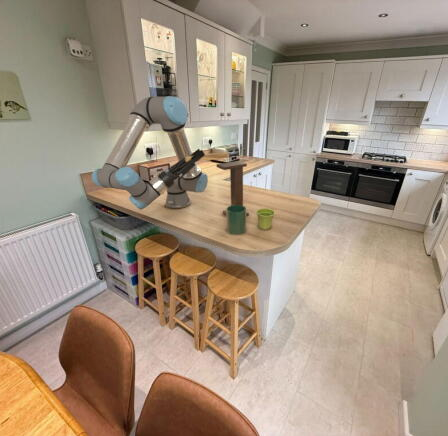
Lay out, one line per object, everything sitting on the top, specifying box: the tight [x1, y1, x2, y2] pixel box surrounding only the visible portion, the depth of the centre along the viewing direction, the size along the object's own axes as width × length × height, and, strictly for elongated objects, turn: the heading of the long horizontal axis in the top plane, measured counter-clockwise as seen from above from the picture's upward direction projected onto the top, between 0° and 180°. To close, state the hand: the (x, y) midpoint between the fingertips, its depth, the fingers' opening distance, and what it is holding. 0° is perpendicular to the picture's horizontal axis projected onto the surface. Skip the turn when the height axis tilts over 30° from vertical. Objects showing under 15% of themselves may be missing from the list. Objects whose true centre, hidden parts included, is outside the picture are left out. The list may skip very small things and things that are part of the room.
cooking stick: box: [185, 151, 229, 162], centre depth 113 cm, size 2×22×2 cm, turn 125°
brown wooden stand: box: [216, 160, 250, 217], centre depth 129 cm, size 11×14×30 cm
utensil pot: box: [226, 204, 247, 235], centre depth 117 cm, size 10×10×12 cm
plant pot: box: [256, 207, 276, 230], centre depth 121 cm, size 9×9×9 cm
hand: (201, 151), depth 111 cm, fingers closed on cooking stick, 2 cm apart
